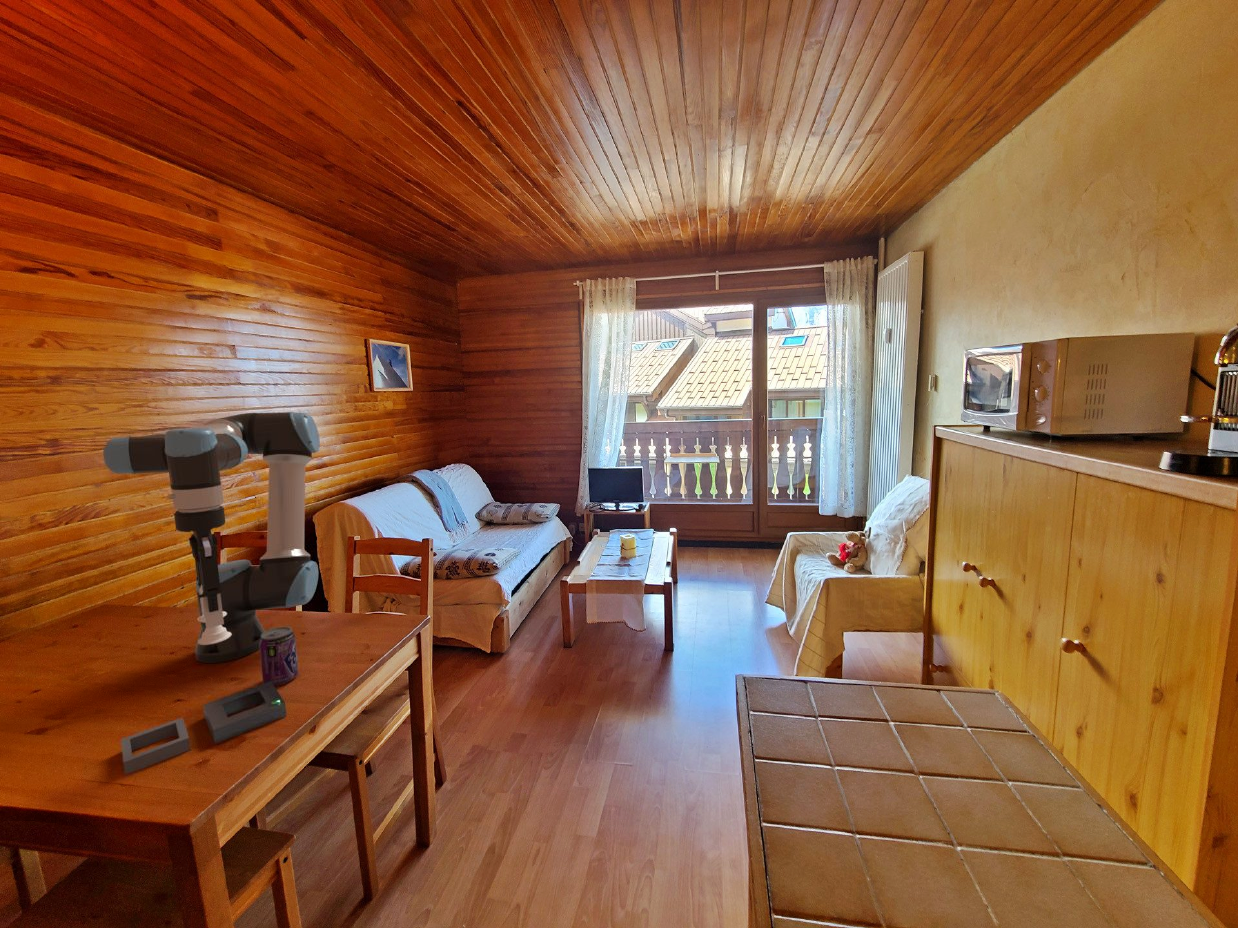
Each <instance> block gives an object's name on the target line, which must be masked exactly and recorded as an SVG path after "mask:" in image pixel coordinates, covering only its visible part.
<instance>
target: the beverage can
mask: <svg viewBox="0 0 1238 928" xmlns="http://www.w3.org/2000/svg"><path fill="white" fill-rule="evenodd" d="M259 648H260V649H259V655H260V656H259V657H260V666H261V675H262V684H264V683H267V682H269V681H271V682H272V684H273V685H274V686H280V685H283V684H287V683H288V682H290V681H292V680H293V679H295V678H297V676H298V675H299V673H300V672H299V663H298V654H297V653H298V651H297V641H296V634H295V633H294V632H293V628H292V627H291V626H278V627H273V628H271V629H268V630H265V632H264V633H262V634H261V640H260V642H259Z"/></svg>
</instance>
